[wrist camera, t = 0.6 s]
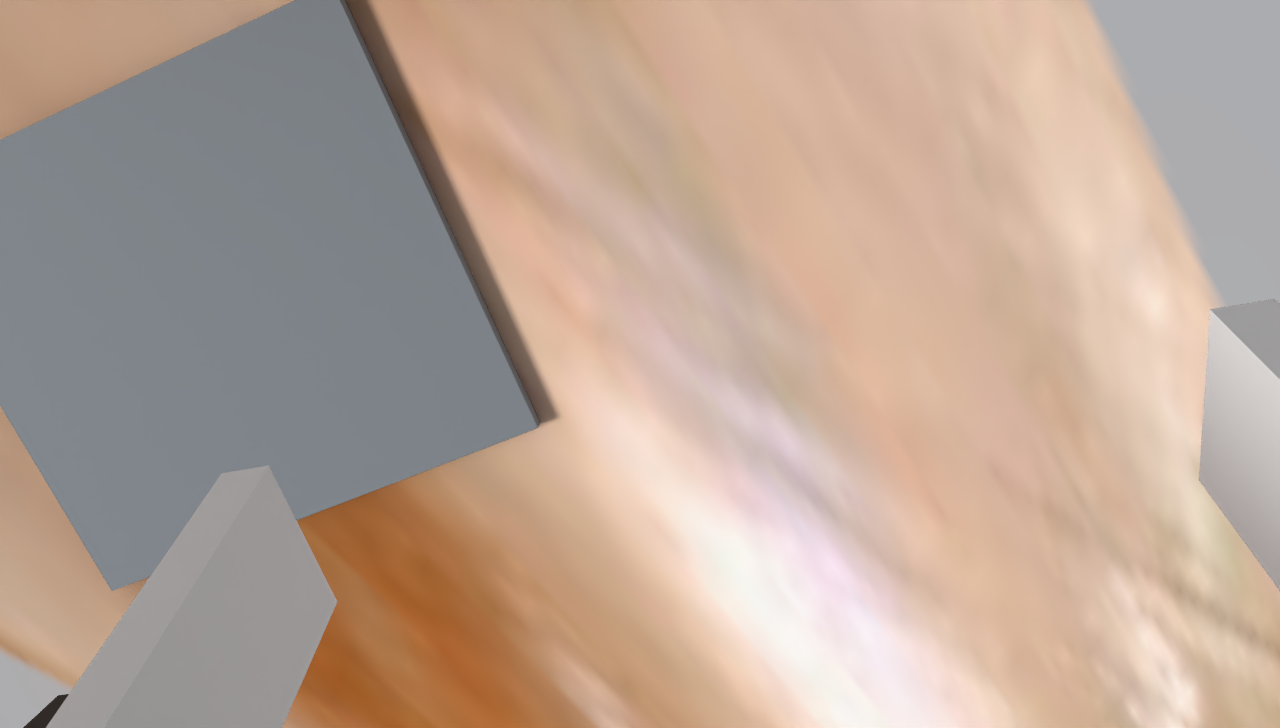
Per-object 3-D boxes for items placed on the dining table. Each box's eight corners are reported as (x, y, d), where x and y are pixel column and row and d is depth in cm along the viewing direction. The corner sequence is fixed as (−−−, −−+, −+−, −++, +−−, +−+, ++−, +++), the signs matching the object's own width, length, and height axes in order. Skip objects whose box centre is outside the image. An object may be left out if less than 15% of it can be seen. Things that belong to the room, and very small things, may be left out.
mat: (-112, 197, 37) (-125, 198, 36) (337, -16, 34) (331, -17, 33) (120, 583, 40) (111, 590, 40) (540, 422, 38) (537, 427, 37)
